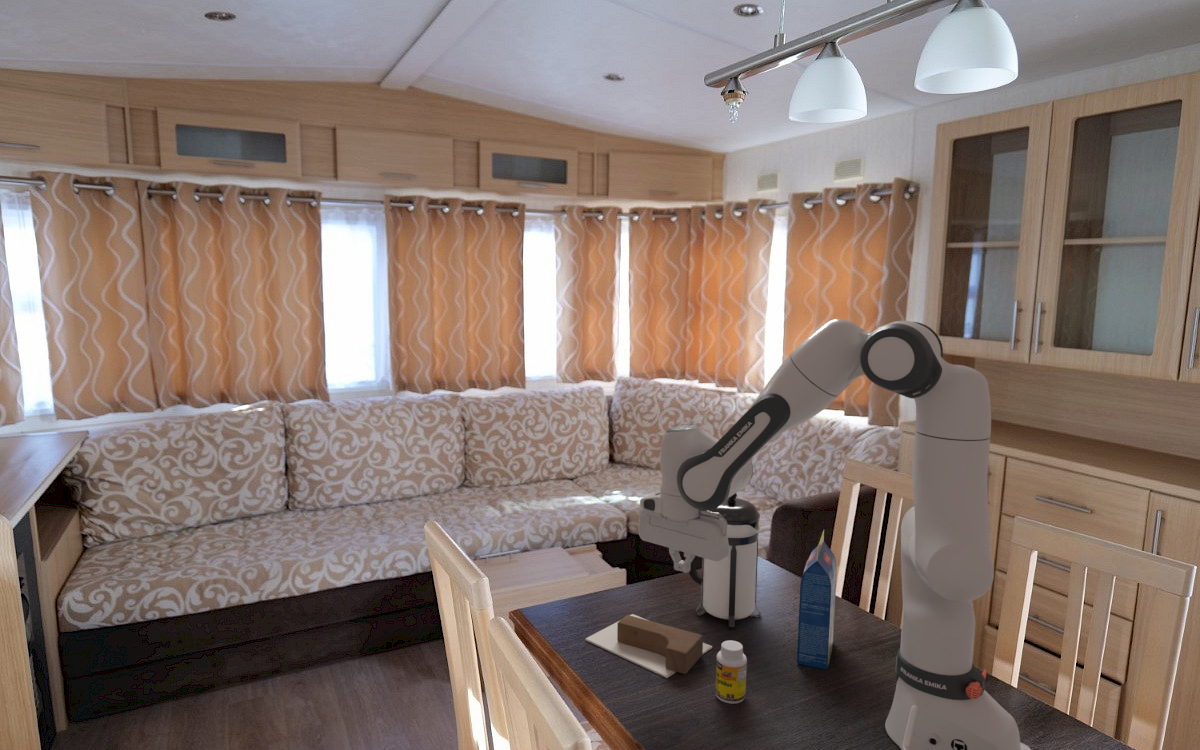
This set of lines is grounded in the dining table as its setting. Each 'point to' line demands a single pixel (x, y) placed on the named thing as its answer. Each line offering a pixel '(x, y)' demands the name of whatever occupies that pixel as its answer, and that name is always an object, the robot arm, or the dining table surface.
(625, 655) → the mat
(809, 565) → the blue food package
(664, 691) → the dining table surface
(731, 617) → the coffee press
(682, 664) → the wooden block
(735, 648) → the supplement bottle
